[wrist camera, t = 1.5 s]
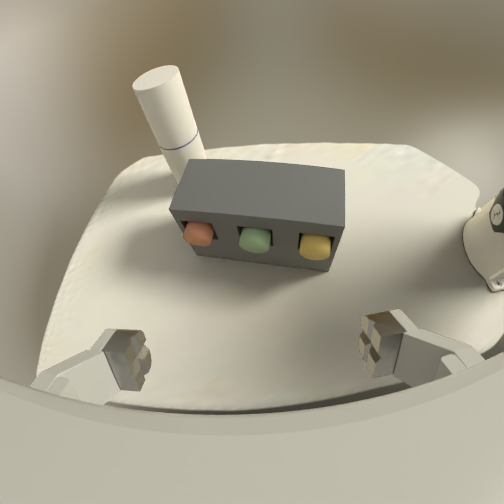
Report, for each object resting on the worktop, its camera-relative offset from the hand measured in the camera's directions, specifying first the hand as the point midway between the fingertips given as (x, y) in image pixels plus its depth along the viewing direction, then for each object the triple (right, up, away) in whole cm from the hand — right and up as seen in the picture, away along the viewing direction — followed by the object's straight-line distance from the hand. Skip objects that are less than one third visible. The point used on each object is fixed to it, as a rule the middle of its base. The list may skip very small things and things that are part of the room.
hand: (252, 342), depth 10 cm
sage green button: (+1, +4, +30) cm, 30 cm away
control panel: (+2, +6, +38) cm, 39 cm away
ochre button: (+8, +4, +29) cm, 30 cm away
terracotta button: (-7, +5, +31) cm, 33 cm away
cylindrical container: (-11, +18, +46) cm, 50 cm away
